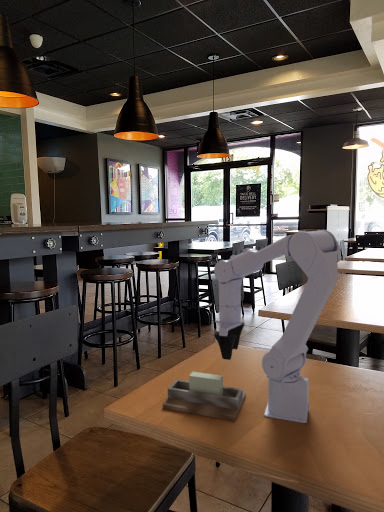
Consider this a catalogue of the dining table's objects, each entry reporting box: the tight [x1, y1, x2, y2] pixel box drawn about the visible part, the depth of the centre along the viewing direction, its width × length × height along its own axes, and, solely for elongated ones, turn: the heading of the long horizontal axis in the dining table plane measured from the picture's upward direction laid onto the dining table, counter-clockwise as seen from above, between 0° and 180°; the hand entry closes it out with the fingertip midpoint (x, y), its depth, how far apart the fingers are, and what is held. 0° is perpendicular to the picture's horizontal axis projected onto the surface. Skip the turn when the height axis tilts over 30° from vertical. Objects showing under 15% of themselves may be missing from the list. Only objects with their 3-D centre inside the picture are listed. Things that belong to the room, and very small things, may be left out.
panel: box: [188, 371, 224, 396], centre depth 93 cm, size 8×2×6 cm, turn 70°
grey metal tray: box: [162, 378, 247, 422], centre depth 93 cm, size 18×12×4 cm, turn 70°
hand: (230, 353), depth 100 cm, fingers open, 7 cm apart
